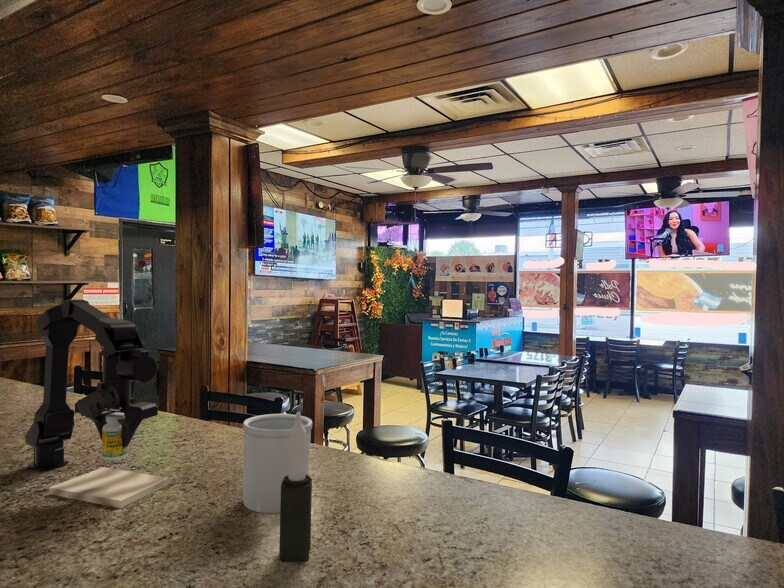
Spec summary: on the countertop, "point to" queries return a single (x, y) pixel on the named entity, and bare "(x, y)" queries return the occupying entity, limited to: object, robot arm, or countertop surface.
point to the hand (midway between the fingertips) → (115, 445)
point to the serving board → (109, 487)
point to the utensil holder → (268, 459)
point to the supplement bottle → (113, 438)
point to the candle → (296, 500)
